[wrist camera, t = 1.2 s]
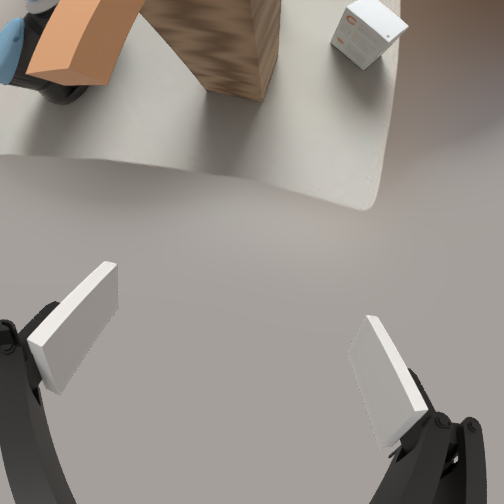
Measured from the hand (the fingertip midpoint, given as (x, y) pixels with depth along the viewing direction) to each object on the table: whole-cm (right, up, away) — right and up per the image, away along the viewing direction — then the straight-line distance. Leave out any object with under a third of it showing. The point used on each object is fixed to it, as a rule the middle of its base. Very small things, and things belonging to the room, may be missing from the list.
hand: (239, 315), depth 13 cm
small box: (+20, +40, +24) cm, 51 cm away
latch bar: (-4, +22, -7) cm, 24 cm away
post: (-1, +34, +27) cm, 43 cm away
